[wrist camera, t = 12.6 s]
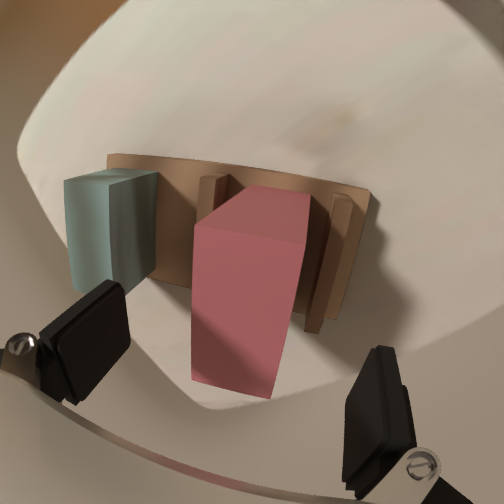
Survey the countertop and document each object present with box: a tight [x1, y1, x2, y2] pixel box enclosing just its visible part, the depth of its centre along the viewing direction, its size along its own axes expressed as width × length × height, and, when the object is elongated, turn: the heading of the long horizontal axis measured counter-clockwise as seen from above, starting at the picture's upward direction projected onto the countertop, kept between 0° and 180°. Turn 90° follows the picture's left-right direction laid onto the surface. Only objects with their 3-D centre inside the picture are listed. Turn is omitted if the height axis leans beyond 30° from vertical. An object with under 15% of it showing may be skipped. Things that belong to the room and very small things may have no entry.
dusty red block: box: [191, 184, 311, 399], centre depth 16 cm, size 4×8×10 cm, turn 173°
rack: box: [64, 154, 371, 334], centre depth 19 cm, size 20×10×7 cm, turn 82°
